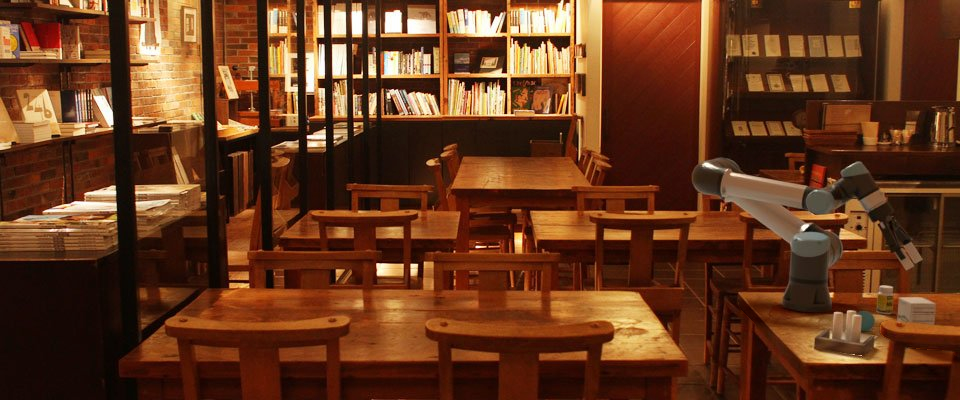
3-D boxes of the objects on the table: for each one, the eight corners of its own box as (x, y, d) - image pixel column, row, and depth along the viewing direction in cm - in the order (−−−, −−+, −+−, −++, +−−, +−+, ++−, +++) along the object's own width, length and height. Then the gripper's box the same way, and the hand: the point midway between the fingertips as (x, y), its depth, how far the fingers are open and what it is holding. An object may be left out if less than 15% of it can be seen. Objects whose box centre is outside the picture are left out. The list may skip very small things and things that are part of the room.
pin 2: (849, 348, 283) (851, 316, 282) (851, 346, 285) (853, 314, 284) (858, 349, 282) (860, 317, 281) (860, 347, 284) (862, 315, 283)
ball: (849, 331, 301) (851, 311, 300) (855, 327, 306) (856, 307, 305) (871, 334, 298) (872, 314, 297) (876, 330, 303) (877, 310, 302)
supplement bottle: (887, 315, 322) (889, 288, 321) (873, 312, 325) (875, 286, 324) (895, 313, 325) (897, 287, 324) (881, 310, 328) (883, 284, 327)
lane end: (814, 348, 282) (814, 337, 282) (825, 339, 292) (826, 328, 292) (863, 356, 275) (864, 345, 275) (873, 346, 285) (874, 336, 285)
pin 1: (830, 345, 286) (832, 313, 285) (833, 343, 288) (835, 311, 287) (839, 346, 285) (841, 314, 283) (841, 344, 287) (844, 312, 285)
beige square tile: (833, 338, 293) (833, 337, 293) (842, 331, 301) (842, 330, 301) (869, 344, 287) (869, 343, 287) (877, 336, 296) (878, 336, 296)
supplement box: (894, 340, 292) (897, 296, 290) (919, 340, 293) (923, 296, 291) (907, 347, 285) (911, 303, 283) (933, 347, 285) (936, 303, 284)
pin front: (844, 343, 288) (846, 311, 287) (846, 341, 290) (848, 310, 289) (852, 344, 287) (855, 312, 286) (855, 342, 289) (857, 311, 288)
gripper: (878, 205, 316) (917, 265, 311) (895, 196, 337) (932, 253, 332) (856, 217, 320) (895, 277, 315) (875, 208, 340) (911, 264, 336)
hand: (914, 265), depth 324 cm, fingers open, 13 cm apart
